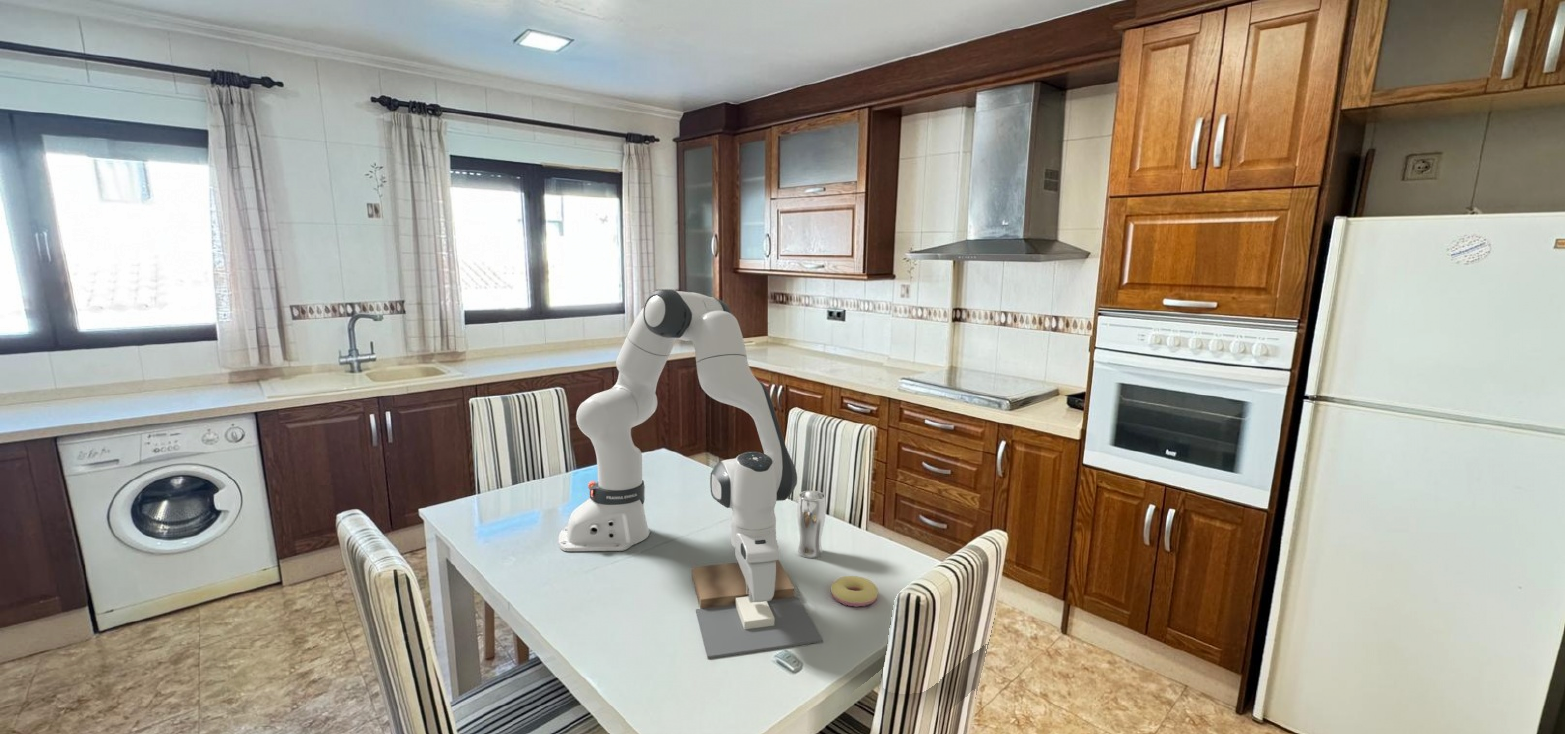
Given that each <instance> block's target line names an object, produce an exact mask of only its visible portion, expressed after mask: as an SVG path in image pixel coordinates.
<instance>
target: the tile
mask: <svg viewBox="0 0 1565 734" xmlns="http://www.w3.org/2000/svg"><path fill="white" fill-rule="evenodd" d="M735 605H736V608H737V611H738V613H739V616H740V619H741V622H742V624H743V627H744V629H751V628H759V627H766V626H773V625H774V616H773V614H772V612H771V609H770V607H769V605H768V603H767V601H765V602H752V603H751V602H750V601H749V599H748V596H747V597H739V598H735Z"/></svg>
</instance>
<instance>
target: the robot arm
mask: <svg viewBox="0 0 1565 734" xmlns="http://www.w3.org/2000/svg"><path fill="white" fill-rule="evenodd" d="M677 340H678V341H679V340H680V341H684V342H685V341H686V342H692V345H693V347H694V355H695V362H696V363H695V365H696V371H697V372H696V373H697V377H698V381H699V385H700V387H701V389H702V390H703V392H704V393H705V394H707V396H709V397H710V398H711V399H713V400H715V401H717V402H719V403H721V404H724V405H725V404H726V405H728V406H732V407H735V408H738V409H740V410H743V411H744V412H746V413H747V414H749V416H751V418H752V420H753V421H754V425H755V427H756V430H757V435H758V437H759V440H760V443H761V446H762V447H761V448H762V450H763V453H762V452H759V451H746V452H742V453H740V454H738V455H737V456H736V457H735V458H729V459H723V460H722V461H721V460H720V461H718V462H717V463H716V465H715V466H714V467H713V468H712V470H711V472H710V476H709V480H710V483H709V484H710V486H709V487H710V494H711V496H712V498H713V500H715V501H716V502H717V503H719V504H720V505H722V506H723V507H725V508H727V509H731V510H732V517H731V525H730V526H731V529H730V530H731V531H730V532H731V533H730V536H731V537H730V539H731V540H730V543H731V546H732V547H733V548H734V553H735V554H734V555H735V558H736V561H737V563H739V566H740V568H741V571H742V573H743V575H744V578H745V582H746V594H747V596H748V599H749V601H750V602H751V603H752V602H765V601H770V600H772V598H773V596H774V590H775V579H776V562H775V560H779V561H780V549H779V545H778V542H777V541H778V540H777V518H776V514H775V513H776V512H775V507H776V505H777V501H778V502H779V501H782V502H783V501H786V500H787V499H788V498H789V497H790V495H792V493H793V492H794V491H795V489H796V487H797V484H798V473H797V469H796V467H795V464H794V461H793V460H792V457H791V455H790V453H789V451H788V448H787V446H786V443H785V440H784V436H783V435H784V434H783V432H782V429H781V426H780V424H779V420H778V416H777V413H776V411H775V408H774V404H773V402H772V399H771V395H770V393H769V391H768V389H767V387H766V385H765V384H764V383H763V382H761V381H759V380H758V379H757V378H756V376H755V374H754V373H753V372H752V370H751V368H750V365H749V362H748V356H747V351H746V345H745V340H744V337H743V333H742V330H741V327H740V324H739V320H738V319H737V317H735V316H734V315H733V313H732V311H731V308H730V307H729V305H728V304H727V303H726V302H724V301H723V300H721V299H720V298H717V297H714V296H713V297H712V296H708V295H705V294H702V293H698V292H693V291H692V292H691V291H690V292H689V291H680V290H679V291H678V290H675V289H669V288H667V289H659V290H655V291H654V292H652V293H651V294H650V295H649V296H648V297H647V299H646V301H645V303H644V306H643V308H641V310H640V312H639V313H638V314H637V316H636V317H635V320H634V321H633V323H632V325H631V326H630V328H629V331H628V333H627V335H626V337H625V340H624V342H623V343H622V346H621V349H620V351H619V353H618V356H617V357H616V361H615V366H616V369H617V371H618V377H617V381H616V383H615V384H614V385H613V386H612V387H611V388H610V389H607V390H603V391H601V392H597V393H595V394H592V395H591V396H590V397H588V398H587V399H585V400H584V401H582V402H581V403H580V404H579V406H578V408H577V410H576V414H575V419H576V424H577V427H578V428H579V430H580V431H581V432H582V433H583V434H584V435H585V437H588V439H590V441H591V444H592V446H593V447H594V451H595V456H596V467H597V468H596V470H597V482H596V481H595V480H591V481H589V482H588V485H587V486H588V489H589V498H588V499H587V500H585V501H584V502H583V503H581V504H580V505H579V506H577V507H576V508H575V509H574V510H572V512H571V514H570V516H569V519H568V522H567V526H565V527H563V528H562V529H561V531H560V532H559V535H558V546H559V548H560V549H561V551H564V552H617V551H618V552H620V551H626V550H629V548H631V547H632V546H633V545H636V544H639V543H640V542H642V541H644V540H646V539H647V538H648V537H649V536H650V529H649V526H648V522H647V518H646V512H645V505H644V503H645V499H646V494H645V493H646V490H645V489H646V485H645V481H644V480H643V453H642V451H641V450H640V448H638V447H637V446H636V445H635V444H634V441H633V438H632V428H634V427H636V426H639V425H641V424H643V423H645V422H646V421H647V420H648V419H650V418H651V416H653V414H654V413H656V410H657V407H658V397H657V394H656V391H657V386H658V382H659V379H660V376H661V374H662V372H663V369H664V368H665V365H666V363H667V361H668V360H669V356H670V355H671V353H672V350H673V348H674V346H675V343H676V341H677Z"/></svg>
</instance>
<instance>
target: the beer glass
mask: <svg viewBox="0 0 1565 734" xmlns="http://www.w3.org/2000/svg"><path fill="white" fill-rule="evenodd" d="M797 498H798V501H797V510H796V512H797V513H796V514H797V515H796V517H797V525H798V531H799V544H798V549H797V553H798V555H799V556H800V557H802V558H805V557H806V558H807V559H815V558H816V557H817V558H819V557H821V556H822V555H823V548H822V535H823V531H824V526H825V521H826V514H827V513H826V511H827V507H826V506H827V505H826V504H827V503H826V502H827V501H826V494H825V493H823V492H822V491H819V490H804V491H801V492H799V493H798V497H797ZM817 558H816V559H817Z"/></svg>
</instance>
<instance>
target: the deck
mask: <svg viewBox="0 0 1565 734" xmlns="http://www.w3.org/2000/svg"><path fill="white" fill-rule="evenodd" d="M775 562H776V579H775V590H774V596H773V598H772V600H774V599H782V598H790V597H795V587H794V585H793V583H792V581H791V579H790V578H789V576H788V575H787V572H786V570H785V569H784V567H783V566H782V563H781V562H780V559H779V560H775ZM691 575H692V576H691V578H692V583H693V587H694V590H695V594H696V597H697V602H698V605H699V609H700V608H709V607H717V606H725V605H733V604H735V598H739V597H747V594H746V582H745V578H744V575H743V573H742V571H741V568H740V566H739V563H738V562H732V563H731V562H730V563H721V564H711V565H702V566H692V567H691Z"/></svg>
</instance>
